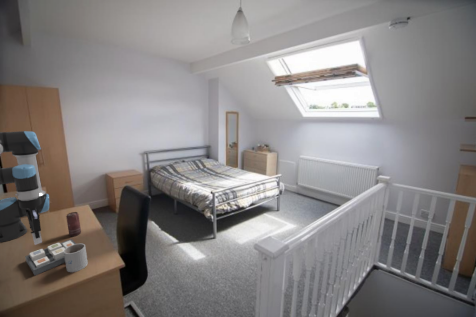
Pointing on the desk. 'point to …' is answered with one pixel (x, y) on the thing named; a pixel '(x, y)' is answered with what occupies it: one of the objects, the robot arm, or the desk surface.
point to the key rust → (41, 262)
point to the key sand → (58, 253)
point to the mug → (75, 257)
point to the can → (73, 224)
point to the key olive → (54, 247)
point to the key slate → (37, 255)
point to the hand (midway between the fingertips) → (38, 242)
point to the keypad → (53, 262)
